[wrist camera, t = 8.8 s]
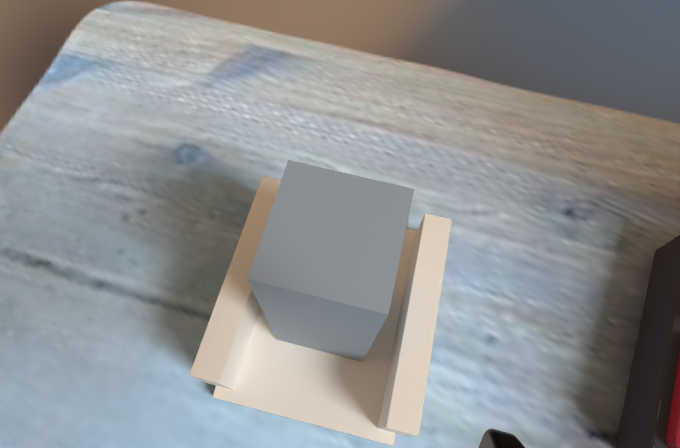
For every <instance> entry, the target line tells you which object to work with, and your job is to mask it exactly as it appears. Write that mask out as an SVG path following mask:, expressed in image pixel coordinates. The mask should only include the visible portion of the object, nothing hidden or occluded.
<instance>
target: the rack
mask: <svg viewBox="0 0 680 448" xmlns="http://www.w3.org/2000/svg"><path fill="white" fill-rule="evenodd" d="M280 183H281V180H278V179H274V178H270V177H265V176H262V179H261V181H260V184H259V187H258V189H257V192H256V195H255V198H254V200H253V203H252V206H251V209H250V211H249V214H248V217H247V219H246V222H245V225H244V228H243V230H242V233H241V236H240V238H239V241H238V244H237V247H236V249H235V252H234V255H233V257H232V260H231V263H230V266H229V268H228V271H227V274H226V277H225V279H224V282H223V285H222V287H221V290H220V293H219V296H218V298H217V301H216V304H215V306H214V309H213V312H212V315H211V317H210V320H209V323H208V325H207V328H206V331H205V334H204V336H203V339H202V342H201V344H200V347H199V350H198V353H197V355H196V358H195V361H194V364H193V366H192V369H191V372H190V374H189V375H190V376H192V377H195V378H197V379H199V380H202V381H204V382H206V383H209V384H213V385H216V388H215V391H214V394H213V398H216V399H220V400H224V401H227V402H231V403H235V404H239V405H242V406H246V407H250V408H253V409H257V410H261V411H265V412H268V413H272V414H276V415H280V416H283V417H287V418H291V419H295V420H298V421H302V422H306V423H309V424H313V425H317V426H321V427H324V428H328V429H332V430H336V431H339V432H343V433H347V434H351V435H354V436H358V437H362V438H365V439H369V440H373V441H377V442H380V443H384V444H388V445H392V446H394V441H395V435H396V433H397V434H401V435H405V436H419V431H420V424H421V418H422V411H423V404H424V398H425V391H426V385H427V378H428V372H429V365H430V359H431V352H432V346H433V339H434V333H435V326H436V320H437V313H438V307H439V300H440V294H441V287H442V281H443V274H444V267H445V261H446V254H447V248H448V241H449V235H450V228H451V222H452V219H447V218H443V217H439V216H434V215H430V214H426V213H425V215H424V217H423V220H422V222H421V224H420V226H419V228H418V230H417V231H414V230H410V229H406V231H405V236H404V241H403V246H402V251H401V256H400V261H399V265H398V270H397V275H396V280H395V285H394V290H393V295H392V300H391V305H390V310H389V315H388V316H387V318H386V320H385V322H384V324H383V325H382V327H381V329H380V331H379V333H378V334H377V336H376V338H375V340H374V341H373V343H372V345H371V347H370V349H369V350H368V352H367V354H366V356H365V358H364V359H363V361H362V362H361V361H357V360H353V359H349V358H346V357H342V356H338V355H334V354H330V353H326V352H323V351H319V350H315V349H311V348H307V347H303V346H299V345H296V344H292V343H288V342H284V341H280V340H277V339H276V337H275V335H274V333H273V331H272V329H271V327H270V325H269V323H268V321H267V319H266V317H265V315H264V313H263V311H262V309H261V307H260V305H259V303H258V300H257V298H256V296H255V294H254V292H253V290H252V288H251V286H250V284H249V282H248V280H247V277H248V274H249V271H250V269H251V266H252V263H253V260H254V257H255V254H256V251H257V249H258V246H259V243H260V240H261V237H262V234H263V231H264V229H265V226H266V223H267V220H268V217H269V214H270V211H271V209H272V206H273V203H274V200H275V197H276V194H277V191H278V189H279V186H280Z"/></svg>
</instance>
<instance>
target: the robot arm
mask: <svg viewBox="0 0 680 448" xmlns="http://www.w3.org/2000/svg"><path fill="white" fill-rule="evenodd" d="M479 448H525V447H524V446H523V445H522V444H521V442H520V441H519V440H518V439H517V438H516V437H515V436H514V435H512V434H510V433H506V432H502V431H499V430H495V429H489V430H487V431H486V432H485V434H484V436H483V438H482V441H481V443H480V446H479Z"/></svg>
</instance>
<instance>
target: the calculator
mask: <svg viewBox="0 0 680 448" xmlns="http://www.w3.org/2000/svg"><path fill="white" fill-rule="evenodd" d="M617 448H680V235H679V236H678V237H676V238H675V239H673V240H671V241H670V242H668V243H667V244H665V245H663V246H662V247H660V248H659V249H657V250H656V252H655V256H654V261H653V266H652V271H651V276H650V281H649V286H648V290H647V295H646V300H645V305H644V310H643V315H642V320H641V325H640V330H639V334H638V339H637V344H636V349H635V354H634V359H633V364H632V369H631V374H630V378H629V383H628V388H627V393H626V398H625V403H624V408H623V413H622V417H621V422H620V427H619V432H618V437H617Z"/></svg>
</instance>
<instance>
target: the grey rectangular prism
mask: <svg viewBox="0 0 680 448" xmlns="http://www.w3.org/2000/svg"><path fill="white" fill-rule="evenodd" d="M413 192H414V189H411V188H407V187H402V186H398V185H394V184H389V183H385V182H381V181H376V180H372V179H368V178H363V177H359V176H355V175H350V174H346V173H342V172H337V171H333V170H329V169H324V168H320V167H316V166H311V165H307V164H303V163H298V162H294V161H290V160H288V163H287V166H286V169H285V171H284V174H283V177H282V180H281V183H280V186H279V189H278V191H277V194H276V197H275V200H274V203H273V206H272V209H271V211H270V214H269V217H268V220H267V223H266V226H265V229H264V231H263V234H262V237H261V240H260V243H259V246H258V249H257V251H256V254H255V257H254V260H253V263H252V266H251V269H250V271H249V274H248V277H247V280H248V282H249V284H250V286H251V288H252V290H253V292H254V294H255V296H256V298H257V300H258V303H259V305H260V307H261V309H262V311H263V313H264V315H265V317H266V319H267V321H268V323H269V325H270V327H271V329H272V331H273V333H274V335H275V337H276V339H277V340H280V341H284V342H288V343H292V344H296V345H299V346H303V347H307V348H311V349H315V350H319V351H323V352H326V353H330V354H334V355H338V356H342V357H346V358H349V359H353V360H357V361H361V362H362V361H363V359H364V358H365V356H366V354H367V352H368V350H369V349H370V347H371V345H372V343H373V341H374V340H375V338H376V336H377V334H378V333H379V331H380V329H381V327H382V325H383V324H384V322H385V320H386V318H387V316H388V315H389V310H390V305H391V300H392V295H393V290H394V285H395V280H396V275H397V270H398V265H399V261H400V256H401V251H402V246H403V241H404V236H405V231H406V226H407V221H408V216H409V211H410V206H411V202H412V197H413Z"/></svg>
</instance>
